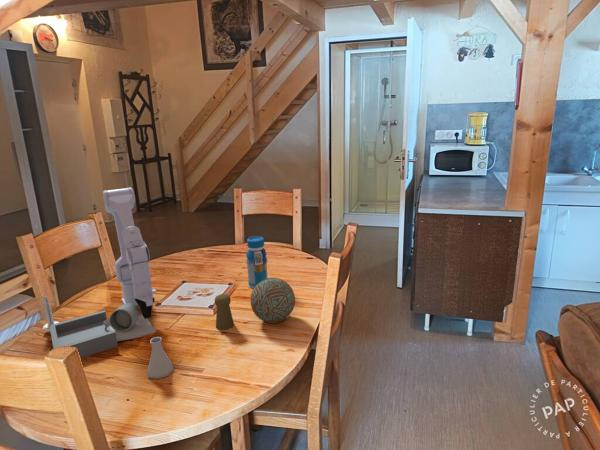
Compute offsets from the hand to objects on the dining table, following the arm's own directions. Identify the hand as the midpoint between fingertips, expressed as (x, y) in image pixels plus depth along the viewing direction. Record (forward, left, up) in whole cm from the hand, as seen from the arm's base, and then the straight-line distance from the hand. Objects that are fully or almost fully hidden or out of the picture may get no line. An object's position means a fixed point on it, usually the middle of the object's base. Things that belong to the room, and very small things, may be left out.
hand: (147, 317), depth 139 cm
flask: (+30, -5, -2) cm, 30 cm away
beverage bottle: (-4, +45, -2) cm, 46 cm away
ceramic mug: (0, -9, -1) cm, 9 cm away
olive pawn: (+18, +20, -2) cm, 27 cm away
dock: (0, -14, -3) cm, 14 cm away
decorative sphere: (+25, +35, -2) cm, 43 cm away
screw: (-15, -28, -2) cm, 31 cm away
